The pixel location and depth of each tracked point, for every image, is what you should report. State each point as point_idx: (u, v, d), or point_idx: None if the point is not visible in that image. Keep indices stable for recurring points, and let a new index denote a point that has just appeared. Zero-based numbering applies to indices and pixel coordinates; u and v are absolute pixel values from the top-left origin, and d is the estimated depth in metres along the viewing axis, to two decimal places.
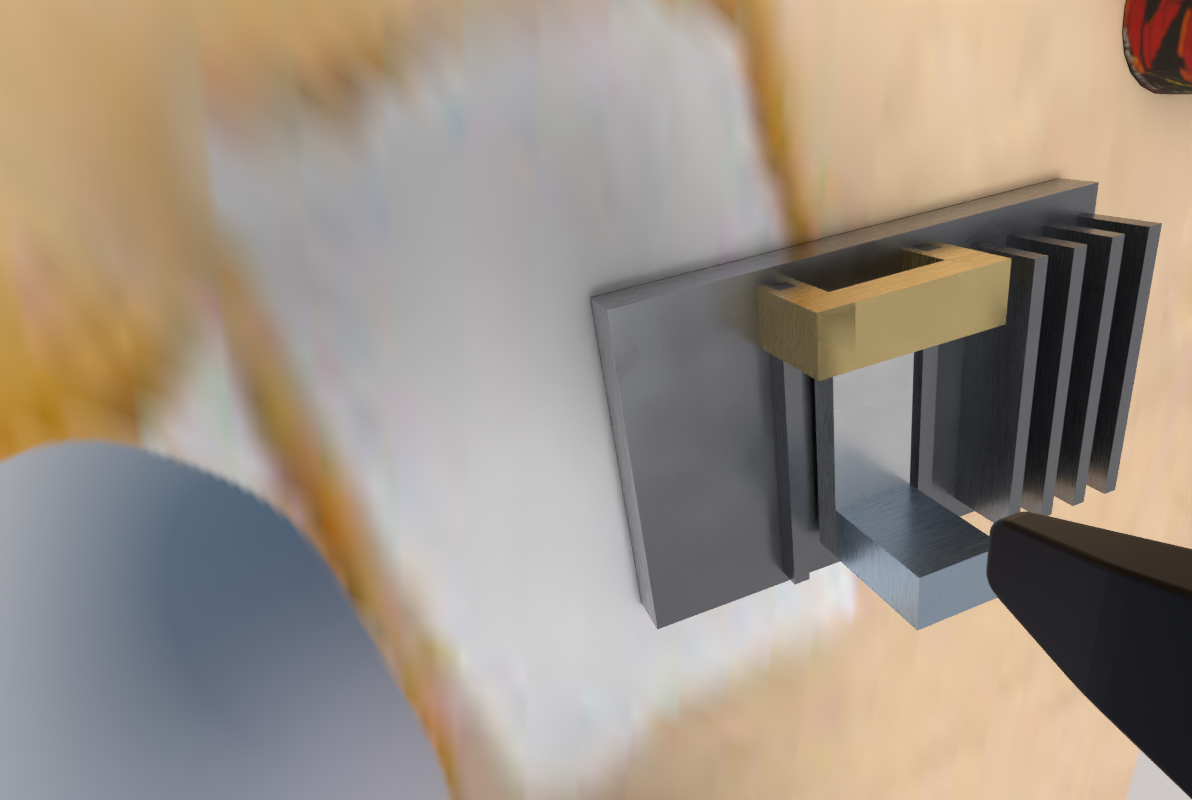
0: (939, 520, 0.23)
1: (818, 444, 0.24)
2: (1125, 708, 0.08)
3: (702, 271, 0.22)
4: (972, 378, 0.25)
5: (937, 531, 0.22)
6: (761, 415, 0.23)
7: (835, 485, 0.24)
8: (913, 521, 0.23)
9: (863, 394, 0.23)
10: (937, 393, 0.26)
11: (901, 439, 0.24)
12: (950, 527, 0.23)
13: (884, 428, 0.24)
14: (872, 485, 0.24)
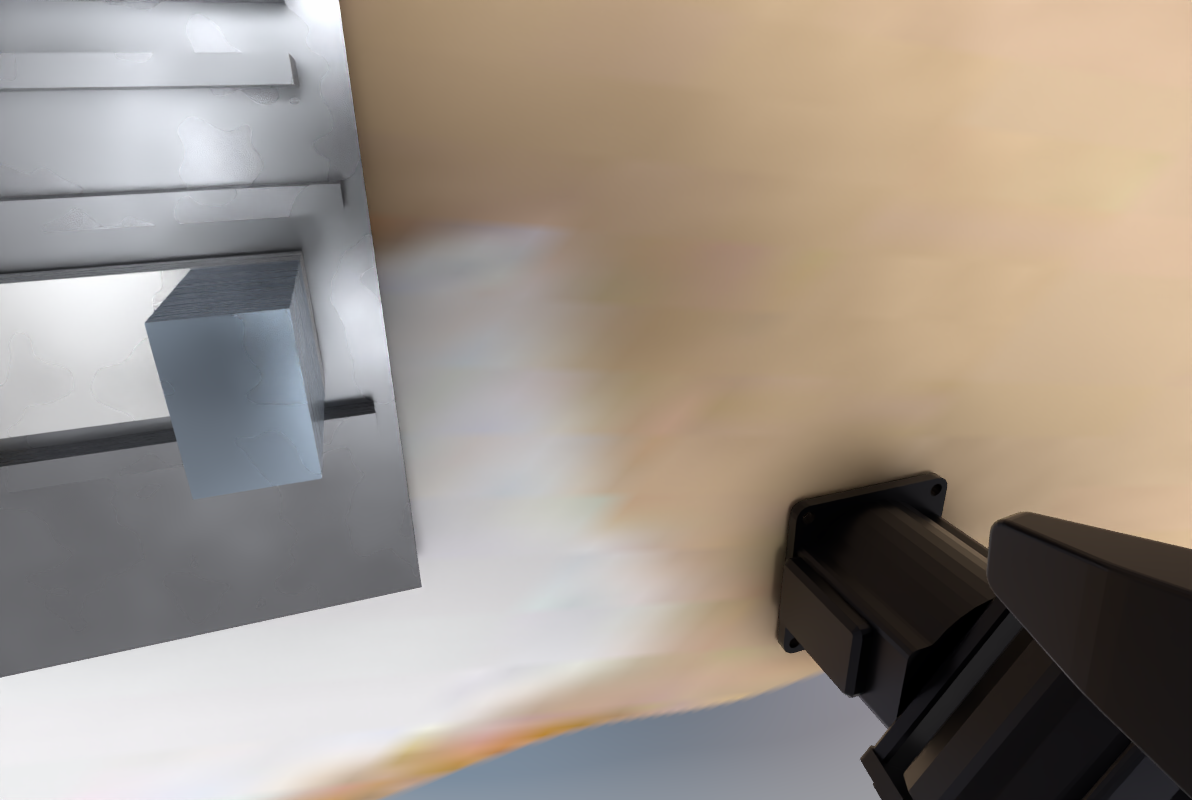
0: None
1: None
2: (1125, 708, 0.08)
3: None
4: None
5: None
6: (72, 486, 0.16)
7: None
8: None
9: None
10: (39, 151, 0.14)
11: (85, 297, 0.14)
12: None
13: (57, 335, 0.14)
14: None
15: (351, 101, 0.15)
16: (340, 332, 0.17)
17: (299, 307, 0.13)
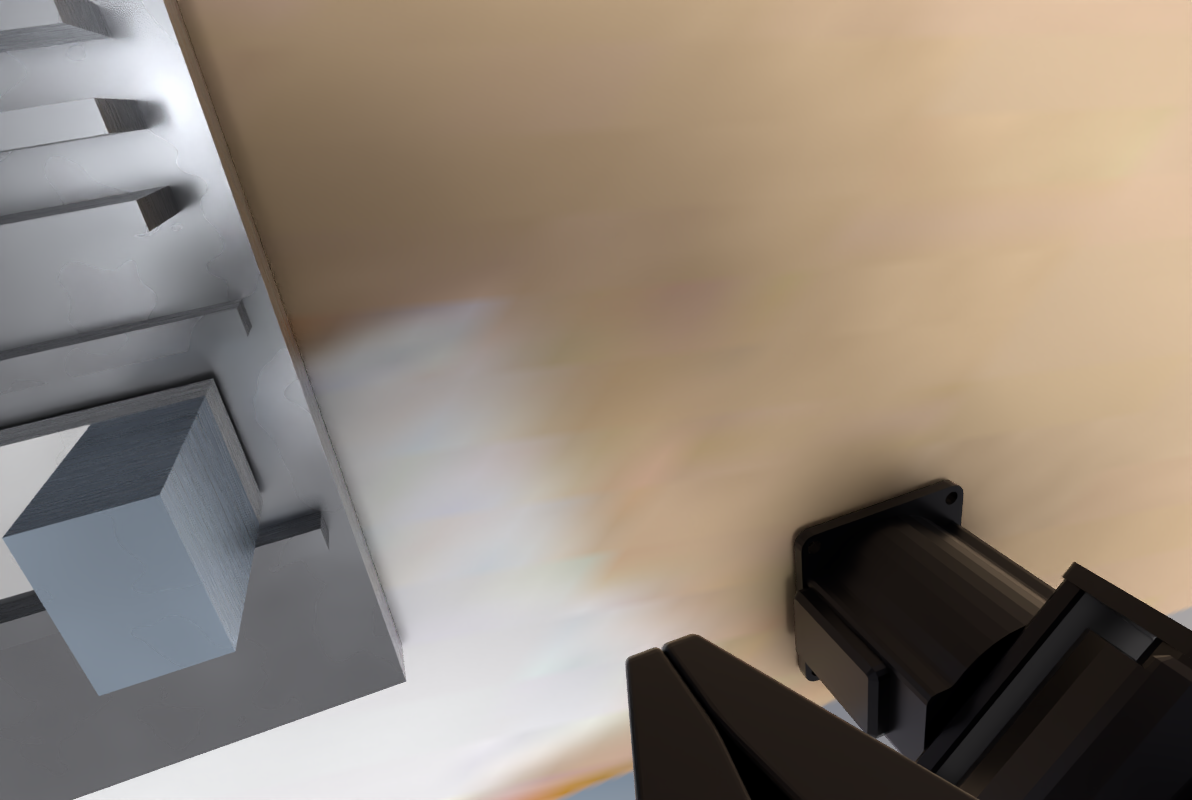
0: None
1: None
2: None
3: None
4: None
5: None
6: None
7: None
8: None
9: None
10: None
11: None
12: None
13: None
14: None
15: (238, 217, 0.14)
16: (273, 449, 0.16)
17: (194, 465, 0.12)
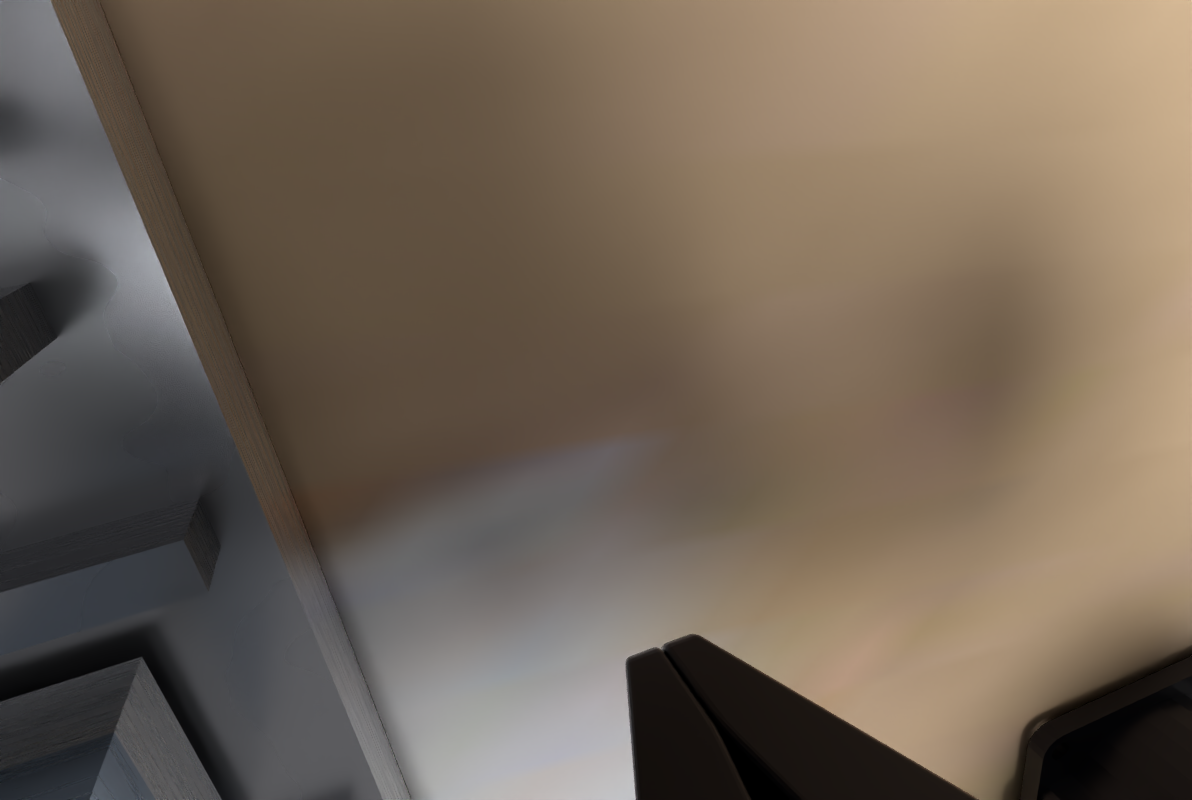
0: None
1: None
2: None
3: None
4: None
5: None
6: None
7: None
8: None
9: None
10: None
11: None
12: None
13: None
14: None
15: (188, 342, 0.07)
16: (264, 750, 0.08)
17: None
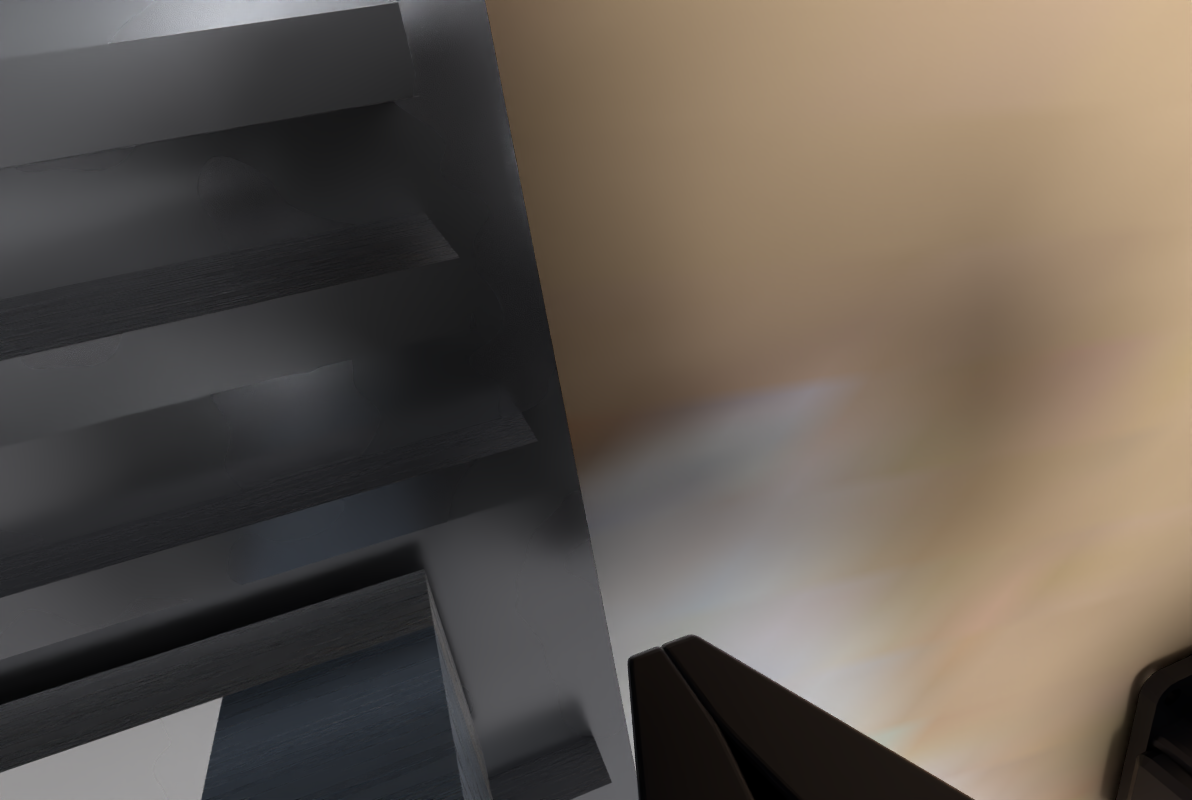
0: None
1: None
2: None
3: None
4: None
5: None
6: None
7: None
8: None
9: None
10: None
11: None
12: None
13: None
14: None
15: (534, 268, 0.07)
16: (536, 653, 0.09)
17: None
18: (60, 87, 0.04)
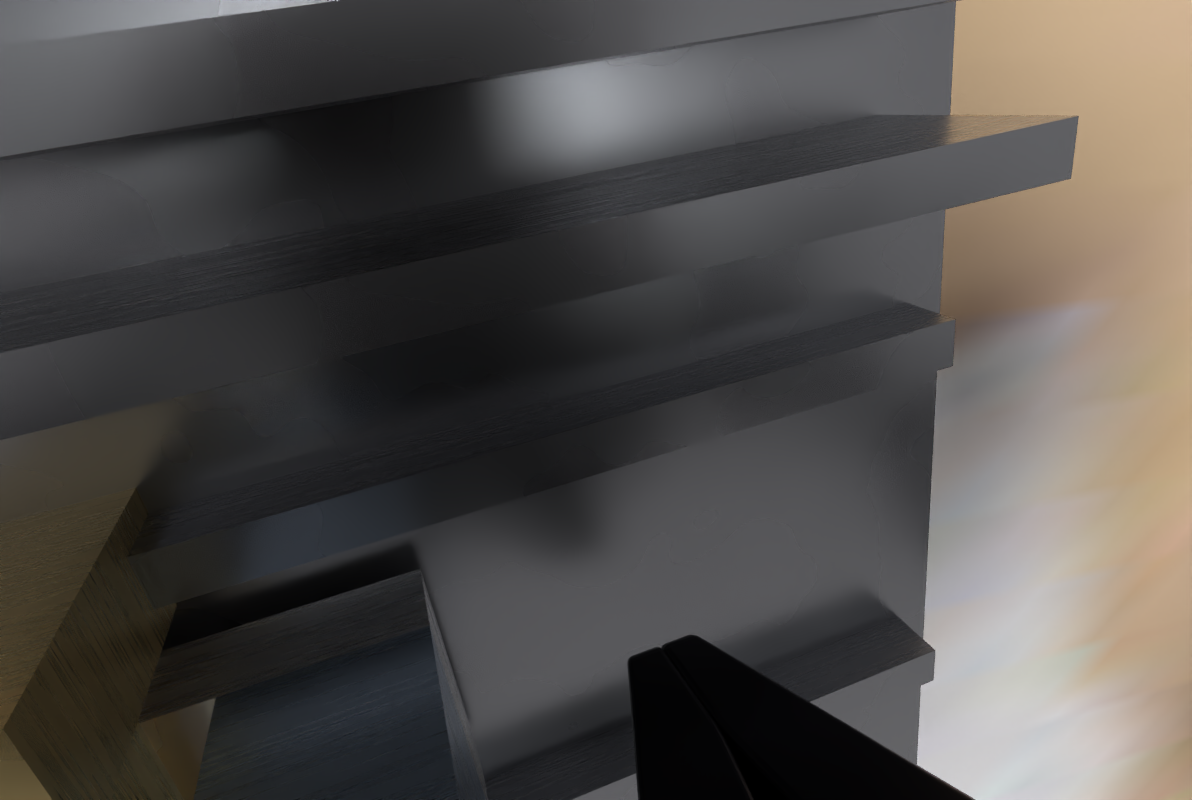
0: None
1: None
2: None
3: None
4: None
5: None
6: None
7: None
8: None
9: None
10: (488, 347, 0.08)
11: None
12: None
13: None
14: None
15: None
16: (872, 532, 0.10)
17: None
18: None
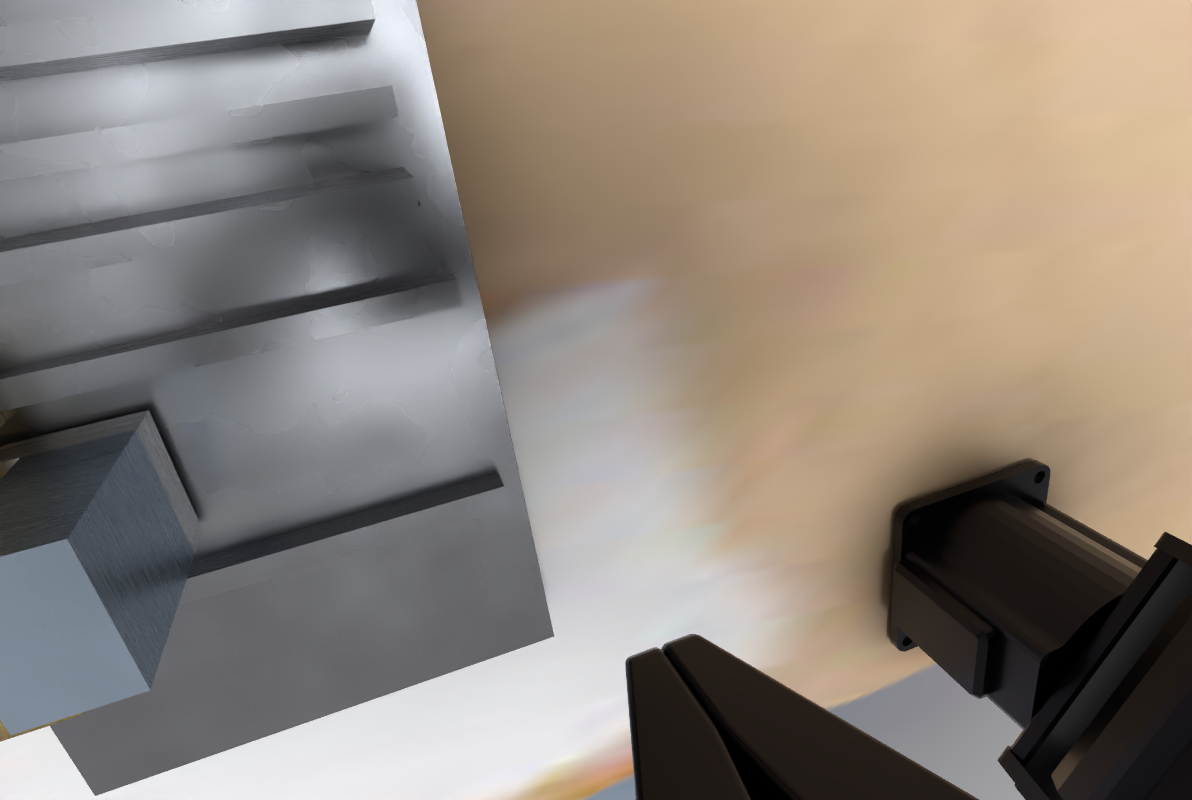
0: None
1: None
2: None
3: None
4: None
5: None
6: None
7: None
8: None
9: None
10: (180, 289, 0.14)
11: None
12: None
13: None
14: None
15: (457, 196, 0.15)
16: (463, 412, 0.17)
17: (115, 503, 0.12)
18: (281, 113, 0.12)
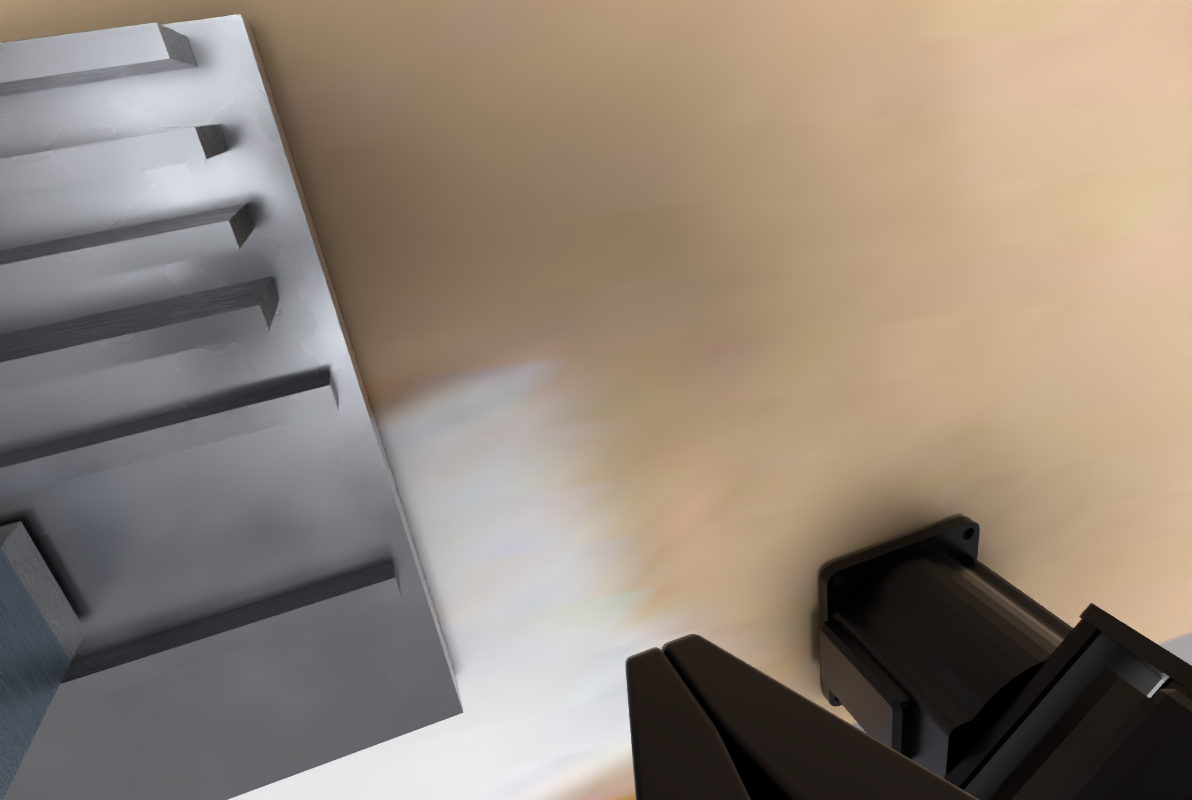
0: None
1: None
2: None
3: None
4: None
5: None
6: None
7: None
8: None
9: None
10: (48, 403, 0.14)
11: None
12: None
13: None
14: None
15: (330, 301, 0.15)
16: (352, 505, 0.17)
17: None
18: (114, 253, 0.12)
